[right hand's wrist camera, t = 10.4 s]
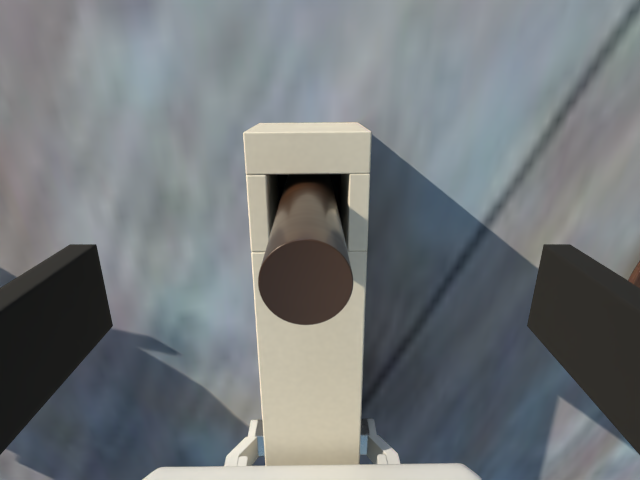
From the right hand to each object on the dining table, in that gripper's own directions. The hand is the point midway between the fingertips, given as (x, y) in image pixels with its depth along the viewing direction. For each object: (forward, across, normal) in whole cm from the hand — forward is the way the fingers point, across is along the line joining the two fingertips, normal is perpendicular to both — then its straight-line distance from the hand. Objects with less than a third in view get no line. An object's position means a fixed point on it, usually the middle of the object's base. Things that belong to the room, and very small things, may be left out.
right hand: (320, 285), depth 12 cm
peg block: (+14, +1, +8) cm, 17 cm away
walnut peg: (+14, +1, 0) cm, 15 cm away
